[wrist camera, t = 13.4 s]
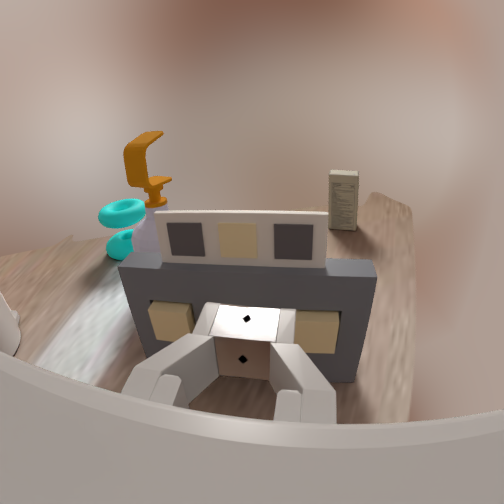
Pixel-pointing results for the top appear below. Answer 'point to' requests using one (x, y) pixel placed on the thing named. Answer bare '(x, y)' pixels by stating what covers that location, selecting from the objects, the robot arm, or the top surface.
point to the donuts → (121, 225)
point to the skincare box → (343, 199)
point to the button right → (316, 330)
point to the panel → (252, 274)
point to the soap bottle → (138, 177)
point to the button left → (171, 319)
